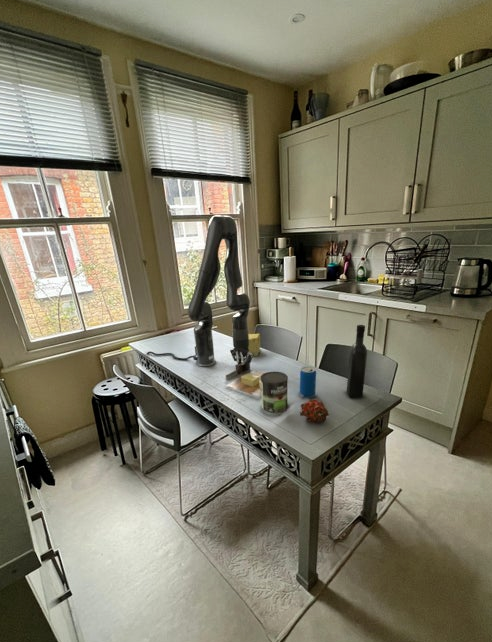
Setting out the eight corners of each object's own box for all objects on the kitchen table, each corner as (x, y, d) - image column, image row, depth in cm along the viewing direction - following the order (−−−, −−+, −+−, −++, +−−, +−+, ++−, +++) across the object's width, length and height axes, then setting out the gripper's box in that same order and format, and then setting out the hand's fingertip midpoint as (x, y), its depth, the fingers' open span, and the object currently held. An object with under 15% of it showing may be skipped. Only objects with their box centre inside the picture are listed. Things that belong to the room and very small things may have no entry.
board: (226, 388, 143) (226, 385, 142) (254, 372, 157) (254, 369, 156) (257, 399, 132) (257, 396, 132) (284, 381, 146) (284, 378, 146)
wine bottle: (345, 391, 135) (351, 323, 123) (359, 391, 135) (366, 323, 122) (349, 398, 130) (355, 328, 117) (363, 398, 129) (371, 327, 117)
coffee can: (292, 411, 122) (292, 379, 117) (268, 418, 119) (267, 385, 113) (280, 399, 131) (279, 369, 125) (257, 406, 127) (256, 374, 122)
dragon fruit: (325, 432, 112) (302, 421, 122) (337, 412, 114) (313, 404, 124) (314, 420, 107) (290, 410, 117) (327, 399, 110) (302, 391, 119)
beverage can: (311, 400, 130) (312, 373, 125) (297, 396, 133) (297, 370, 128) (317, 393, 135) (318, 367, 130) (303, 390, 138) (304, 365, 133)
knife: (224, 380, 148) (223, 370, 146) (246, 369, 160) (245, 360, 158) (228, 381, 147) (227, 371, 145) (250, 370, 158) (249, 361, 156)
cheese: (257, 356, 176) (256, 339, 172) (238, 355, 178) (237, 338, 174) (260, 349, 185) (260, 333, 181) (242, 349, 188) (242, 333, 183)
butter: (241, 382, 144) (240, 376, 143) (247, 379, 147) (247, 373, 146) (253, 386, 140) (252, 380, 138) (259, 382, 143) (259, 376, 142)
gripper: (257, 337, 147) (258, 370, 154) (234, 332, 155) (237, 364, 162) (246, 341, 142) (248, 376, 149) (224, 336, 150) (227, 369, 157)
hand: (242, 370), depth 155 cm, fingers closed on knife, 2 cm apart
